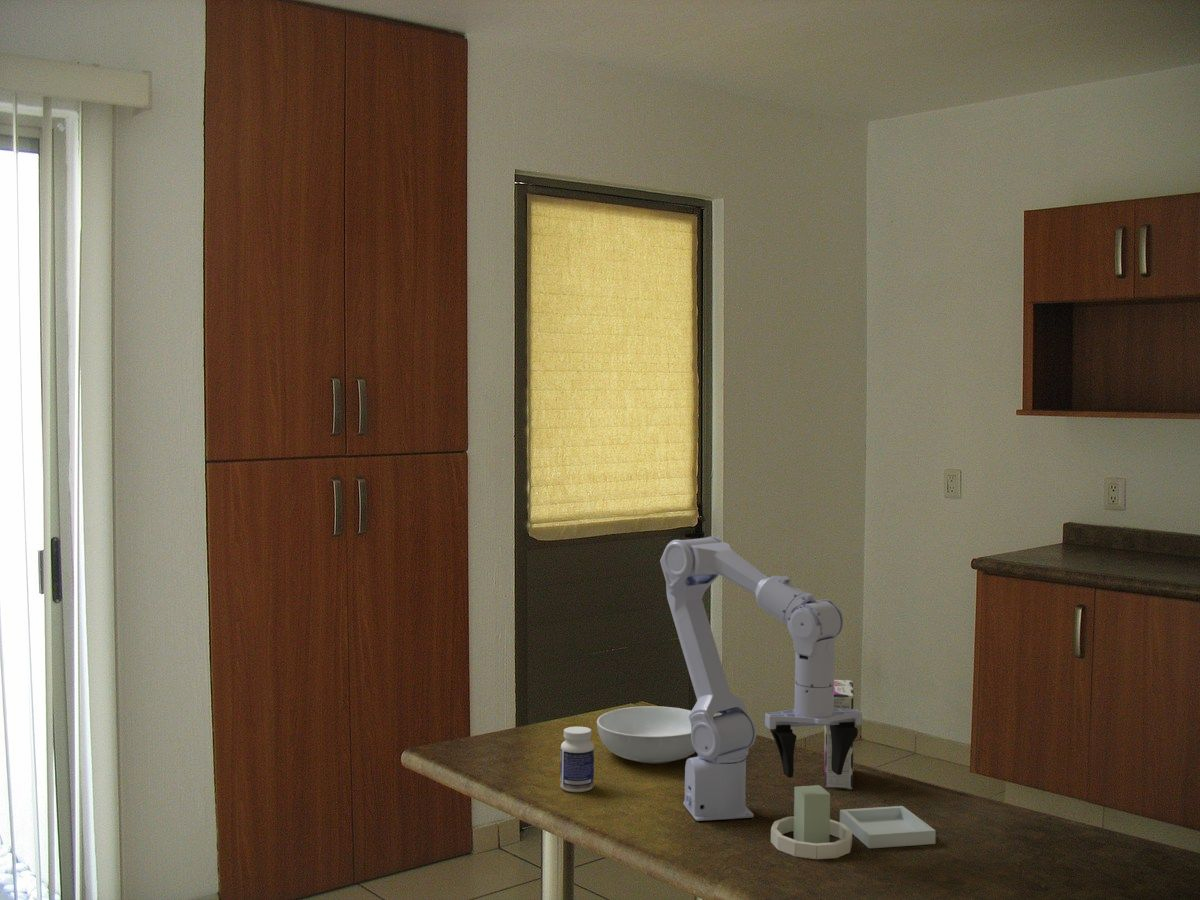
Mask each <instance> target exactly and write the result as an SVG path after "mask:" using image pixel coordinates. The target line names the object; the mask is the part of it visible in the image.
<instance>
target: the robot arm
mask: <svg viewBox="0 0 1200 900" xmlns="http://www.w3.org/2000/svg"><path fill="white" fill-rule="evenodd" d="M659 562H660V566H661V570H662V574H663V576H664V580H665V589H666V590H665V591H666V599H667V602H668V605H669V609H670V612H671V615H672V619H673V623H674V625H675V629H676V634H677V636H678V640H679V644H680V647H681V650H682V654H683V656H684V660H685V661H684V662H685V663H686V667H687V671H688V674H689V677H690V680H691V685H692V687H693V691H694V694H695V697H696V698H695V699H696V702H695V704H694V706H693V708H692V709H691V710H690V711H691V712H690V714H689V719H690V723H691V741H692V745H693V747H694V749H695V751H696V752H695V753H696V754H697V756H693V757H689V758H687V759H686V761H685V767H684V801H683V802H682V804H683V806H684V807H685V808H686V810H687V811H688V812H689V813H690V815H691V816H692V817H693V819H694V820H695V821H697V822H703V821H717V820H719V821H721V820H735V819H736V820H737V819H738V820H739V819H749V818H750V819H751V818H754V817H755V815H754V814H755V813H753V812H752V811H751V810H750V809H749V808H748V806H746V782H747V781H746V780H747V779H746V777H747V775H746V774H747V771H746V770H747V759H746V758H747V756H748V755H749V750H750V747H752V746H753V745H754V744H755V742H756V738H757V727H756V724H755V722H754V719H753V718H752V716H751V715H750V714H749V712H748V710H747V708H746V705H745V703H744V702H745V701H743V700H742V699H741V698H740V697H739V696H737V695H736V694H735V693H733V692H731V690H730V688H729V683H728V681H727V677H726V674H725V671H724V668H723V664H722V661H721V657H720V654H719V651H718V648H717V645H716V641H715V638H714V635H713V631H712V628H711V624H710V622H709V619H708V615H707V611H706V607H705V604H704V602H703V597H704V595H705V592H706V591H707V589H709V588H710V586H711V585H712V584H713V583H714V581H715V580H716V579H717V578H718V577H720V576H721V577H723V578H724V579H726V580H728V581H730V582H732V583H733V584H735V585H736V586H739V587H740V588H741V589H744V590H745V591H747V592H749V593H750V594H752V595H754V596H755V598H756V599H755V601H756V605H757V606H758V608H760V609H761V610H763V611H764V612H766V613H767V614H769V615H770V616H771V617H773V618H775V620H778V621H779V622H780V623H782V624H783V625H785V626H786V627H787V630H788V633H789V635H790V637H791V638H792V643H793V648H792V649H793V650H794V652H795V653H794V654H795V658H794V659H795V660H794V662H795V663H794V698H793V699H794V708H792V709H791V708H790V709H785V710H780V711H774V712H765V713H764V717H765V718H764V726H765V727H766V728H767V729H768V730H769V731H770V733H771V735H772V737H773V739H774V741H775V744H776V747H777V750H778V752H779V756H780V759H781V763H782V765H781V766H782V771H783V775H785V776H786V778H790V779H791V778H793V777H794V771H795V770H794V767H795V766H794V756H795V746H796V741H797V734H795V733H794V732H793V729H792V728H795V727H796V728H797V727H798V728H799V727H815V726H816V727H818V726H819V727H821V726H825V725H830V731H831V740H832V760H831V765H832V771H833V772H834V773H836V774H837V775H841V774H842V770H843V766H844V763H845V759H846V756H847V754H848V751H849V749H850V747H851V745H852V743H853V744H854V743H855V740H856V738H857V737H858V734H859V729H858V728H857V727H856V726H862V725H863V712H862V711H860V710H859V709H857V708H854V709H834V680H835V660H836V659H835V654H836V653H835V652H836V651H835V650H836V637H838V636H839V635H840V634H841V632H842V630H843V628H844V617H843V613H842V611H841V609H840V608H839V607H838V606H837V605H836V604H835V603H834V602H833V601H832V600H831V599H819V600H818V599H816V598H815V596H814V595H813V594H812V593H811V592H805V591H804V590H802V589H800V588H799V587H797V586H795V585H794V584H793V583H791V580H792V579H791V578H790V577H788V576H787V575H772V576H769V577H768V576H767V575H766V574H764V573H763V572H761V571H760V570H759V569H757V568H756V567H755V566H753V564H751V563H750V562H748V561H747V560H745V558H743V557H741V555H739V554H737V553H736V552H735V551H734V550H733V549H732V547H731V544H729V543H727V542H725V541H722V540H721V538H719V537H717V536H711V535H710V536H707V537H701V538H693V539H691V538H690V539H673V540H671V541H670V542H668V543H667V545H666V546H665V549H664V550H663V553H662V555H661V558H660V560H659ZM715 714H719V715H715Z"/></svg>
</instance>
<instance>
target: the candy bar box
mask: <svg viewBox="0 0 1200 900" xmlns="http://www.w3.org/2000/svg"><path fill="white" fill-rule="evenodd" d="M854 695H855V694H854V683H853V680H849V679H834V709H855V707H854V704H855V702H854V701H855V700H854V699H855V698H854V697H855V696H854ZM823 730H824V731H823V733H824V738H823V739H824V741H823V743H824V755H823V756H824V759H823V761H824V786H825V788H827V789H837V790H853V788H854V787H853V786H854V742H853V743H852V745H851V747H850V749H849V751H848V754H847V756H846V759H845V763H844V766H843V770H842V774H841V775H837V774H836V773H834V772H833V771H832V765H831V760H832V740H831V731H830V725H824V729H823Z"/></svg>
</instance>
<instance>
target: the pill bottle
mask: <svg viewBox="0 0 1200 900" xmlns="http://www.w3.org/2000/svg"><path fill="white" fill-rule="evenodd" d="M563 738H564V741H562V743H561V745H560V765H559V766H560V768H559V769H560V770H559V771H560V774H559V775H560V776H559V777H560V778H559V785H560V788H561V789H562V790H563V791H566V792H569V793H583V792H589V791H591V790H592V789H593V788H594V781H595V746H594V743H593V742H591V741H590V740H591V738H592V729H591V728H590V727H587V726H586V727H585V726H569V727H566V728H564V729H563Z"/></svg>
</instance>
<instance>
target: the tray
mask: <svg viewBox="0 0 1200 900" xmlns="http://www.w3.org/2000/svg"><path fill="white" fill-rule="evenodd" d="M839 822H840V823H843V824H844V825H846V826H847V827H848V828H849V829H850V830H851V831H852V836H853V835H854V837H856V838H857V839H858V840H859V841H860V842H861V843H863V845H864V846H866V847H867V848H868V849H880V848H882V849H883V848H893V847H894V848H895V847H896V848H898V847H907V846H908V847H909V846H922V845H936V836H937V835H936V834H937V833H936V829H934V828H933V827H931V825H929V824H928V823H926V822H925V821H924V820H922V819H921V818H919V817H918V816H917V815H916V814H914V813H913V812H912V811H910V810H909V809H907V808H906V807H905V806H903V805H895V806H879V807H865V808H861V807H860V808H847V809H844V808H843V809H840V810H839Z"/></svg>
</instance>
